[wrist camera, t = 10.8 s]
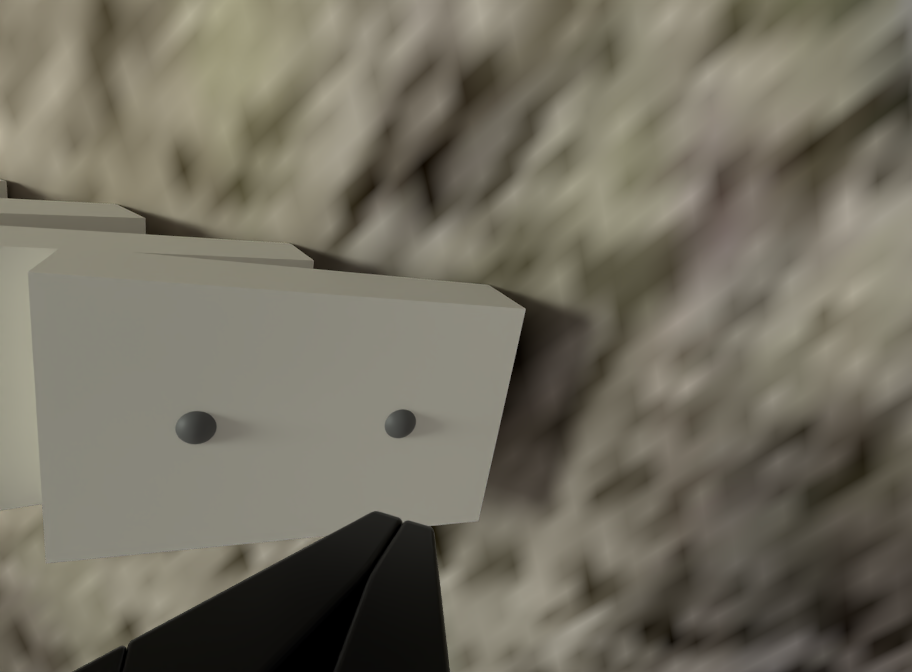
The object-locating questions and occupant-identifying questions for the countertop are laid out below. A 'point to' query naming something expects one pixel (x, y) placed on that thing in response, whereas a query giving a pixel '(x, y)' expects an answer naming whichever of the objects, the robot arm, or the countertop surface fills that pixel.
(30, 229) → the domino
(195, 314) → the domino
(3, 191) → the domino
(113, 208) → the domino
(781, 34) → the countertop surface
